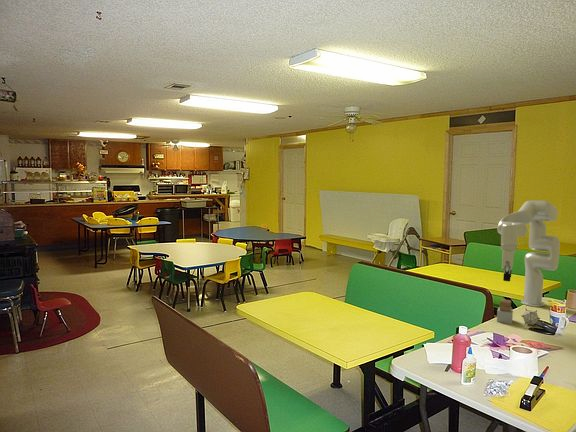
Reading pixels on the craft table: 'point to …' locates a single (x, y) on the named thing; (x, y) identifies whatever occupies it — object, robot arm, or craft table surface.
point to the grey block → (504, 316)
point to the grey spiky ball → (530, 317)
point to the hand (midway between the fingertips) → (507, 278)
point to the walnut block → (505, 305)
